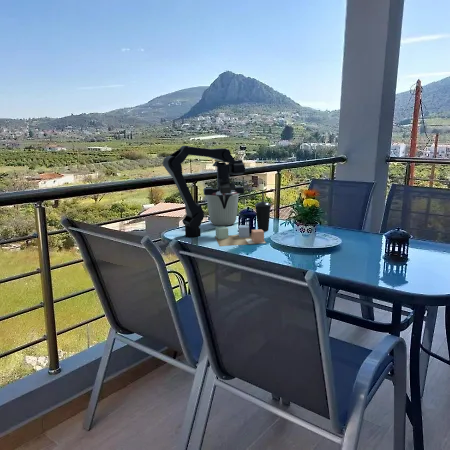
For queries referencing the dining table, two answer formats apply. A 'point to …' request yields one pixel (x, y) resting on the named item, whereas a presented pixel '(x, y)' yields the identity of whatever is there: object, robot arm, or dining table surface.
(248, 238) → the board
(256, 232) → the terracotta block
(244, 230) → the slate block
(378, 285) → the dining table surface
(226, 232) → the sage block
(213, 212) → the canister
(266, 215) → the drinking cup
